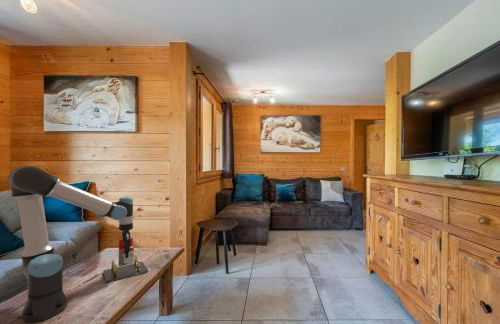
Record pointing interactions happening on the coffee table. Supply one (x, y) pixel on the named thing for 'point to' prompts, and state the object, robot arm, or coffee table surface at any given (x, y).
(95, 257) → the coffee table surface
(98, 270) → the coffee table surface
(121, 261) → the ink box
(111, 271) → the plate
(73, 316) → the coffee table surface
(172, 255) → the coffee table surface
